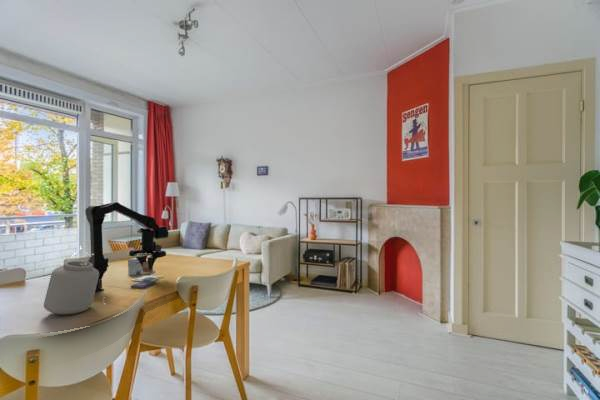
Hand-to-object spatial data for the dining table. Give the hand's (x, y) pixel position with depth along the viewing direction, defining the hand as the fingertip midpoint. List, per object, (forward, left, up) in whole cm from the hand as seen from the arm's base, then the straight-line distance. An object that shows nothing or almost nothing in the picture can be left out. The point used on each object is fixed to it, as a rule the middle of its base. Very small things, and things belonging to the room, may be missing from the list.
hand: (147, 269), depth 154 cm
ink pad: (-10, -7, -5) cm, 13 cm away
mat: (0, 0, -5) cm, 5 cm away
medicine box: (+8, +15, -5) cm, 18 cm away
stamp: (0, 0, -2) cm, 3 cm away
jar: (-43, -5, -5) cm, 44 cm away
